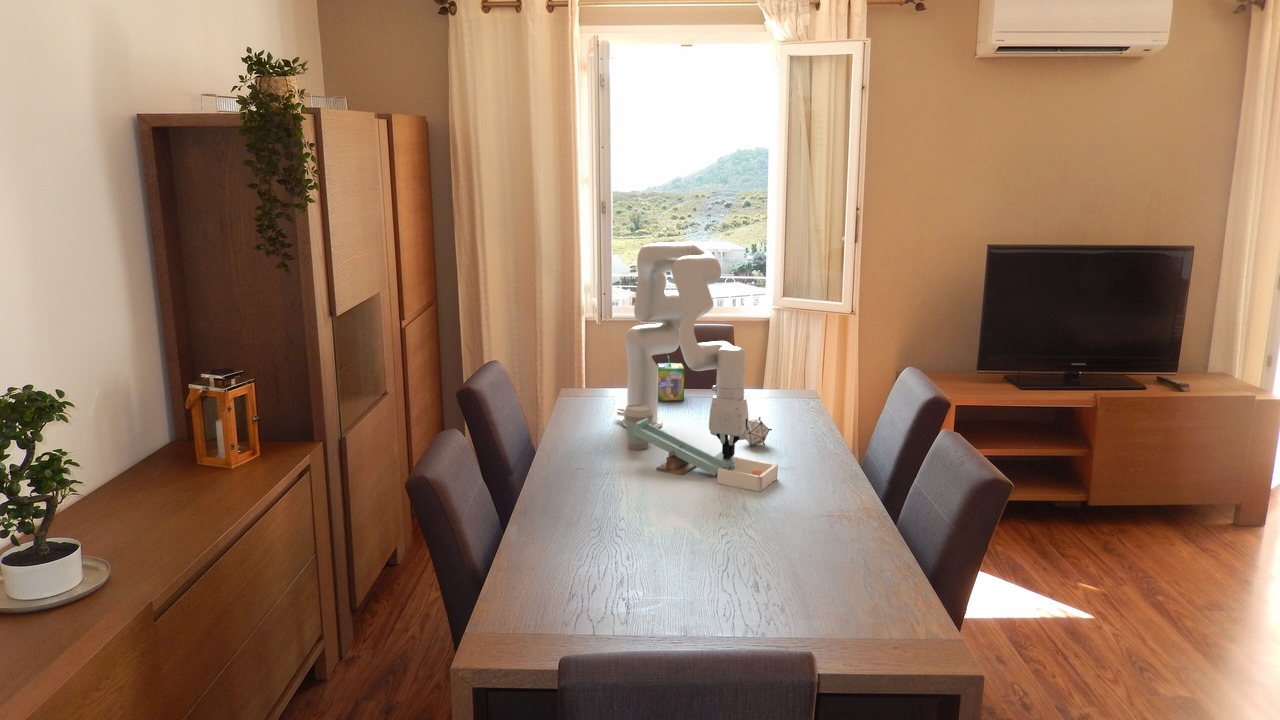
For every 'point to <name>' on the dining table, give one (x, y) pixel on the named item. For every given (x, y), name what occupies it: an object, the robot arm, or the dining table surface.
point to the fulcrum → (675, 466)
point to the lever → (681, 448)
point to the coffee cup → (633, 416)
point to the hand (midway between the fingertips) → (728, 457)
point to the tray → (748, 475)
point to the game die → (757, 432)
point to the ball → (757, 472)
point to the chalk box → (670, 381)
